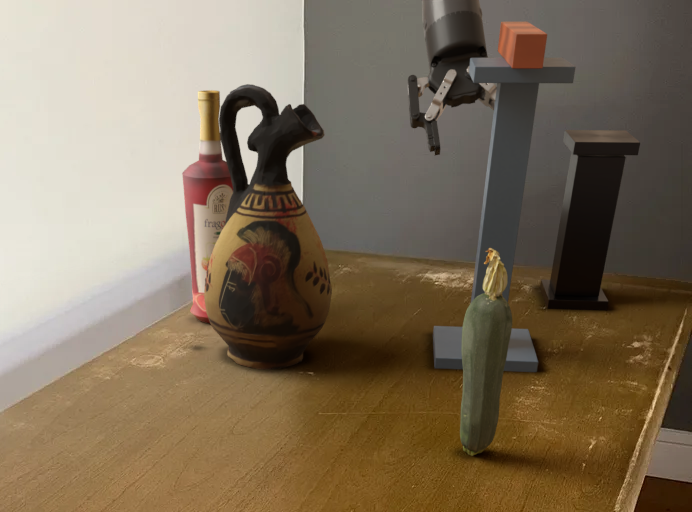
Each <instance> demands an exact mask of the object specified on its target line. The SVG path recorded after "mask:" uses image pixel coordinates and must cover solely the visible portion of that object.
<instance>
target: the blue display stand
mask: <svg viewBox="0 0 692 512" xmlns="http://www.w3.org/2000/svg"><path fill="white" fill-rule="evenodd" d="M469 74H470V76H471V78H472V81H473V83H494V84H496V87H497V89H496V98H495V106H494V110H493V115H492V123H491V131H490V141H489V148H488V156H487V165H486V174H485V180H484V190H483V198H482V205H481V213H480V214H481V215H480V222H479V232H478V238H477V248H476V256H475V264H474V272H473V280H472V290H471V295H470V296H471V297H470V303H471V302H472V301H473V300H474V299H475V298H476V297H477V296H479V295H481V294H483V293H485V292H484V290H483V281H484V278H485V275H486V270H487V268H488V265H489V263H490V261H489V262H488V263H487V264H484V263H485V262H486V257H487V256H488V253H489V252H485V251H488V249H489V248H492V249H494V250H496V251H497V252H498V253H499V254H500V255H499V257H500V261H501V262H502V263H503V264H504V268H505V269H506V272H507V286H506V288H505V290H504V291H503V292H502V296H503V298H504V299H505V300H506V301H507V302H508V303H509V298H510V291H511V284H512V278H513V277H512V276H513V269H514V262H515V255H516V248H517V242H518V234H519V227H520V220H521V215H522V214H521V213H522V206H523V201H524V200H523V199H524V193H525V187H526V179H527V171H528V166H529V165H528V164H529V159H530V158H529V157H530V151H531V144H532V136H533V130H534V123H535V115H536V108H537V102H538V95H539V89H540V88H539V87H540V84H574V81H575V80H574V79H575V74H576V66H575V65H574V64H572V63H571V62H570V61H568V60H567V59H565V58H564V57H544V62H543V68H542V69H513V68H511V66H510V65H509V64H508V63H507V62H506V60H505V59H504V58H503V57H488V58H470V66H469ZM489 260H490V258H489ZM462 328H463V326H452V325H451V326H447V325H433V330H432V347H433V364H434V366H433V368H434V369H443V370H444V369H445V370H446V369H447V370H463V364H462V353H461V349H462ZM538 366H539V360H538V356H537V353H536V349H535V347H534V343H533V339H532V337H531V332H530V331H529V329H528V328H512V330H511V336H510V341H509V345H508V352H507V358H506V362H505V366H504V371H503V372H519V373H520V372H522V373H537V372H538Z"/></svg>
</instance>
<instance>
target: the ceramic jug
mask: <svg viewBox="0 0 692 512" xmlns="http://www.w3.org/2000/svg"><path fill="white" fill-rule="evenodd" d="M254 106H255V107H256V108H257V109H259V110H260V112H261V116H262V118H261V121H260V122H259V123H258V124H257V125H256V126H255V127H254V129H253V130H252V131H251V133H250V134H249V136H248V137H247V142H246V144H247V148H248V149H247V150H248V151H251V152H254V153H257V162H256V167H255V170H254V171H253V174H252V177H251V179H250V182H249V179H248V175H247V172H246V168H245V164H244V161H243V157H242V153H241V147H240V142H239V137H238V133H237V128H236V126H237V125H236V124H237V115H238V112H239V111H240V110H242V109H245V108H250V107H254ZM219 129H220V139H221V148H222V152H223V155H224V158H225V161H226V162H227V166H228V169H229V173H230V176H231V181H232V186H233V194H232V196H231V198H230V203H229V207H228V212H227V216H226V221H225V227H224V228H223V230H222V231H221V233H220V236H219V238H218V240H217V242H216V244H215V246H214V248H213V252H212V254H211V257H210V261H209V262H208V265H207V272H206V278H205V290H204V299H205V306H206V313H207V316H208V318H209V321H210V323H209V324H210V326H211V327H212V329H213V330H214V332H215V333H216V334H217V335H218V336H219V337H220V338H221V339H222V340H223V341H224V342H225V344H226V345H227V346H228V347H227V353H226V354H227V357H228V358H229V359H231V360H232V361H234V363H236V364H237V365H240V366H243V367H248V368H252V369H257V370H278V369H284V368H287V367H291V366H294V365H297V364H299V363H302V361H303V359H304V352H305V350H306V349H307V347H308V346H309V344H310V343H311V342H312V341H313V340H314V339H315V338H316V336H317V335H318V334H319V332H320V331H321V330H322V329H323V327H324V325H325V323H326V320H327V318H328V315H329V313H330V308H331V302H332V296H333V295H332V294H333V289H332V282H331V275H330V274H331V273H330V269H329V263H328V259H327V255H326V252H325V248H324V246H323V242H322V240H321V238H320V236H319V233H318V231H317V229H316V227H315V225H314V223H313V221H312V219H311V216H310V215H309V213H308V211H307V209H306V207H305V205H304V204H303V203H302V200H301V199H300V197H299V196H298V194H297V193H296V190H295V189H294V187H293V185H292V184H293V183H292V181H291V180H289V176H288V169H287V161H288V157H289V156H290V155H291V153H292V152H293V151H295V150H297V149H300V148H302V147H303V146H305V145H308V144H311V143H313V142H316V141H319V140H322V139H323V138H324V137H325V134H326V133H325V130H324V128H322V126H321V124H320V123H319V121H318V120H317V118H316V116H315V114H314V113H313V112H312V110H311V109H310V108H309V107H308V106H307V105H306V104H305V103H301V104H298V105H297V106H296V107H294V108H293V107H292V104H290V103H288V104H286V105H284V108H283V109H282V111H281V112H280V110H279V106H278V103H277V100H276V99H275V97H274V96H273V95H272V93H271V92H270V91H268V90H267V89H266V88H265V87H261V86H259V85H255V84H249V83H247V84H246V83H245V84H242V85H240V86H238V87H236V88H235V89H232V90H231V91H229V93H228V94H227V95H226V97H225V99H224V100H223V102H222V104H221V105H220V111H219Z"/></svg>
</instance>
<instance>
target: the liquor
mask: <svg viewBox="0 0 692 512" xmlns="http://www.w3.org/2000/svg"><path fill="white" fill-rule="evenodd" d="M220 93H221V92H220V90H213V89H211V90H210V89H209V90H198V91H197V106H198V107H197V108H198V114H199V117H200V127H199V129H200V131H199V149H198V160H196V161H195V162H193V163H191V164H189V165H188V166H187V167H186V168H185V169H184V171H182V173H181V175H182V186H183V196H184V211H185V220H186V221H185V222H186V230H187V239H188V240H187V241H188V249H189V250H188V251H189V264H190V277H191V291H192V305H191V308H190V310H189V312H190V313H191V314H192V315H193V316H194V317H195V318H196V319H197V320H199V321H200V322H202V323H205V324H210V321H209V318H208V316H207V313H206V306H205V299H204V290H205V278H206V272H207V265H208V262H209V261H210V257H211V254H212V252H213V248H214V246H215V244H216V242H217V240H218V238H219V236H220V233H221V231H222V230H223V228H224V227H225V221H226V216H227V212H228V207H229V203H230V198H231V196H232V194H233V186H232V181H231V176H230V173H229V169H228V166H227V162H226V160H224V159H223V148H222V143H221V139H220V125H219V116H220V109H221V94H220Z"/></svg>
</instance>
